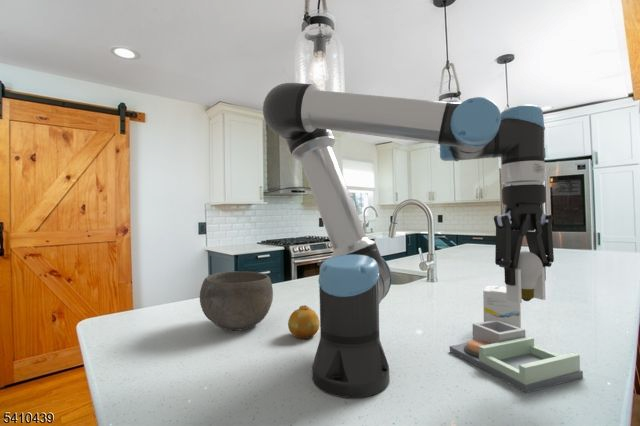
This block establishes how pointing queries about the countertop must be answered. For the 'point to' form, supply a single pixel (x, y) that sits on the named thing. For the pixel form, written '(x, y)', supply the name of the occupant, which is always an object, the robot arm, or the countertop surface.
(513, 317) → the ink box
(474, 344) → the checker pad
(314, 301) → the countertop surface
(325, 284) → the robot arm
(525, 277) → the light bulb
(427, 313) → the countertop surface
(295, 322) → the fruit
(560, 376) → the compartment tray
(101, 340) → the countertop surface
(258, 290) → the bowl
